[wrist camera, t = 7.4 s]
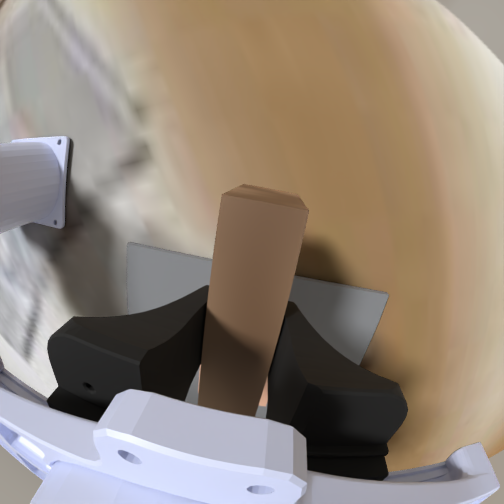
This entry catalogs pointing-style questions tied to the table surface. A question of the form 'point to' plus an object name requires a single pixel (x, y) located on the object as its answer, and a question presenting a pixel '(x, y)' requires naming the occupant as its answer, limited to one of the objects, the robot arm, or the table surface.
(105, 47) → the table surface
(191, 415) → the robot arm
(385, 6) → the table surface
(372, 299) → the mat
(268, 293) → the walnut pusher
